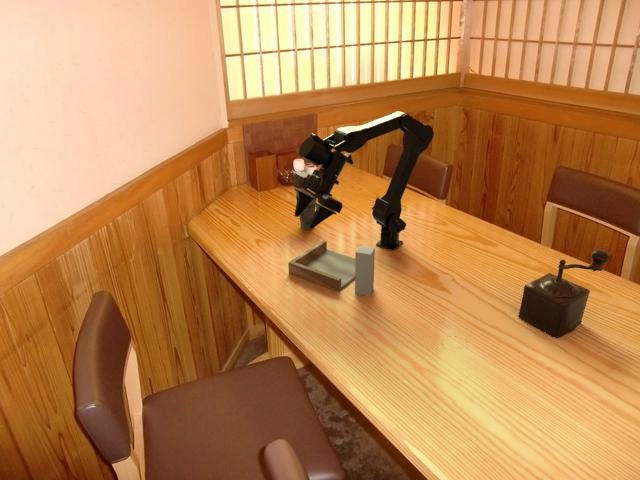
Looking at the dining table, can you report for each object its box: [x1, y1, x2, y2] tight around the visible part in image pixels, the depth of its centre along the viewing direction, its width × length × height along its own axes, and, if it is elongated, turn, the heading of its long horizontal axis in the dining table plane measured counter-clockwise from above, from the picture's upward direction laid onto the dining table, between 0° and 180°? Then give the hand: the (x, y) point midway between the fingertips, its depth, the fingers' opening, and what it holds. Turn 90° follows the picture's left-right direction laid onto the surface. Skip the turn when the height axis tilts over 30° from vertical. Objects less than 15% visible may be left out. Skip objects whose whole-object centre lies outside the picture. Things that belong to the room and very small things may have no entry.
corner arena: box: [287, 239, 355, 293], centre depth 135 cm, size 17×17×4 cm
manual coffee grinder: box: [517, 249, 611, 339], centre depth 108 cm, size 16×11×18 cm
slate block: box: [354, 244, 376, 297], centre depth 122 cm, size 4×4×12 cm
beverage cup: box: [295, 171, 318, 231], centre depth 157 cm, size 7×7×20 cm
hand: (303, 222), depth 130 cm, fingers open, 9 cm apart
